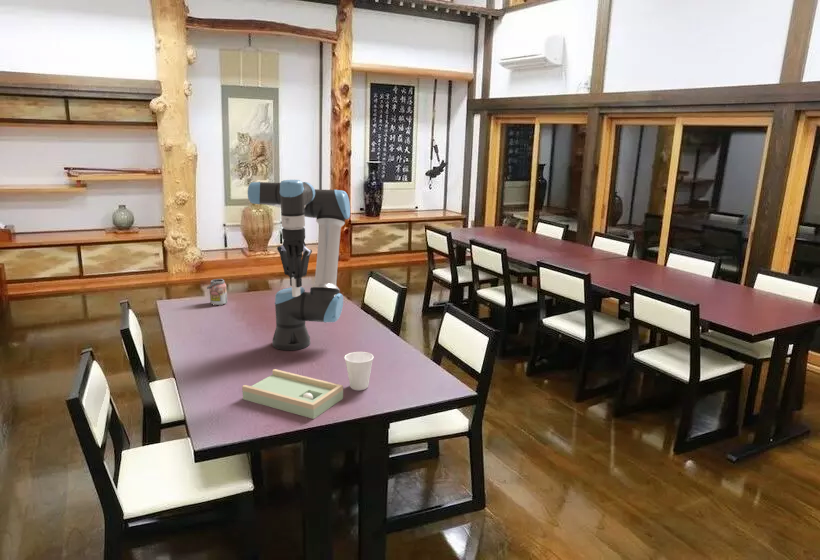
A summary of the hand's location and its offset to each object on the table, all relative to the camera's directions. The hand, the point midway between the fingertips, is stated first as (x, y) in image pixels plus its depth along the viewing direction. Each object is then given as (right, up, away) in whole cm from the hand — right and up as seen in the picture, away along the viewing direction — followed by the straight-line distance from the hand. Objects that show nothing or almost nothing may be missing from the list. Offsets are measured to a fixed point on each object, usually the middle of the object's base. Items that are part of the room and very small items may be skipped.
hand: (296, 295), depth 198 cm
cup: (+21, -31, 0) cm, 38 cm away
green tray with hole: (+1, -33, -10) cm, 35 cm away
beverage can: (-58, -7, +93) cm, 110 cm away
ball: (+6, -32, -13) cm, 35 cm away
